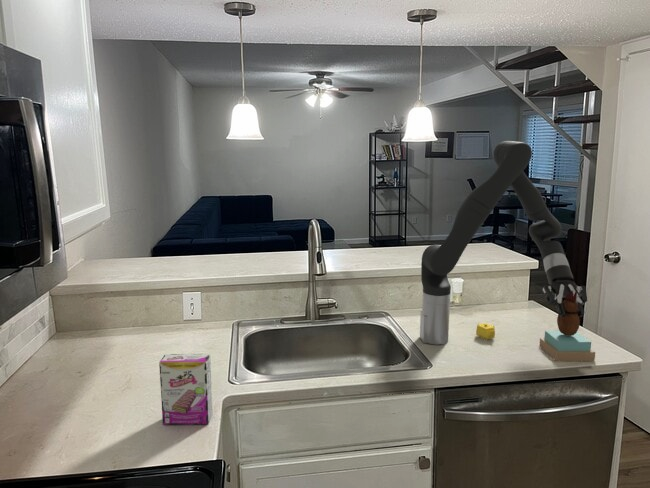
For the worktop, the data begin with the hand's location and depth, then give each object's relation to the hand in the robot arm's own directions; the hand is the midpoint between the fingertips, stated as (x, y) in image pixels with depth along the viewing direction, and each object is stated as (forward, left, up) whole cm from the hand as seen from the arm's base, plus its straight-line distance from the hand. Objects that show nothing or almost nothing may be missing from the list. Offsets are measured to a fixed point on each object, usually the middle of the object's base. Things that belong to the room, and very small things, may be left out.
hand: (572, 315), depth 154 cm
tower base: (0, +2, -13) cm, 14 cm away
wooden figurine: (0, +2, -7) cm, 7 cm away
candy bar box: (-112, -37, -14) cm, 119 cm away
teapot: (-21, +16, -14) cm, 30 cm away
